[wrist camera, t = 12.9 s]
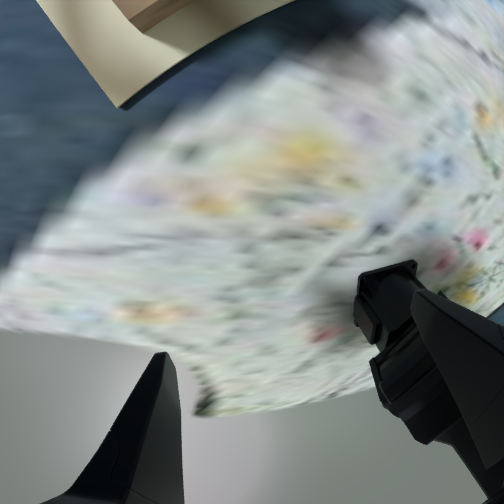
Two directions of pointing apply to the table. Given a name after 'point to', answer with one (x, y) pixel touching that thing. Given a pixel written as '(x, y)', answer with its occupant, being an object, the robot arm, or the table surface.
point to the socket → (144, 35)
